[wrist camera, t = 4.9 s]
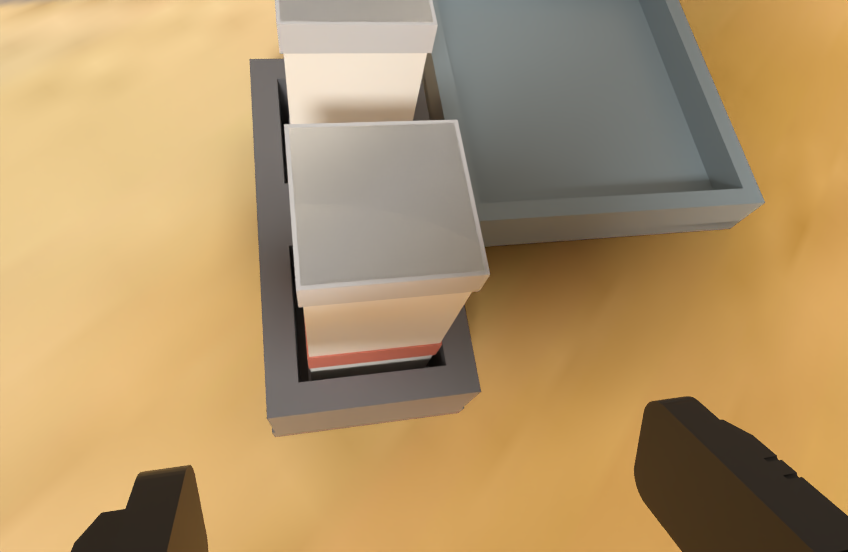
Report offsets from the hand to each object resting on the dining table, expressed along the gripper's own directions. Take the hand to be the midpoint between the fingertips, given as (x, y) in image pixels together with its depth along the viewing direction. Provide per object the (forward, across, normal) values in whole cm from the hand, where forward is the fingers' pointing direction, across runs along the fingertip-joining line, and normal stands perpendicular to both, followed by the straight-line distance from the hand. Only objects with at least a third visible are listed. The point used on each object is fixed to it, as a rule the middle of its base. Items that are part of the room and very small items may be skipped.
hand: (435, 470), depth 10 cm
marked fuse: (+12, 0, +3) cm, 12 cm away
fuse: (+17, 0, -2) cm, 17 cm away
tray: (+21, -12, -4) cm, 24 cm away
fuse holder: (+15, 0, +2) cm, 15 cm away
